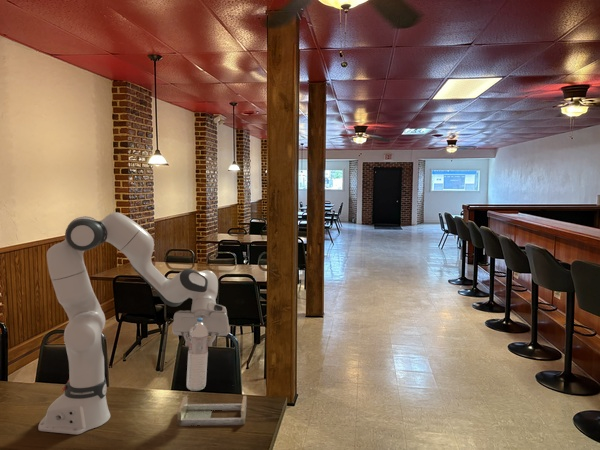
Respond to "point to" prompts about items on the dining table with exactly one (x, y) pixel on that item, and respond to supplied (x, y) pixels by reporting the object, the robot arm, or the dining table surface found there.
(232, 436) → the dining table surface
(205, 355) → the water bottle
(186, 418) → the wooden rack frame
